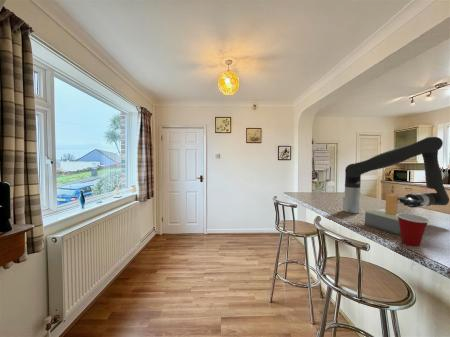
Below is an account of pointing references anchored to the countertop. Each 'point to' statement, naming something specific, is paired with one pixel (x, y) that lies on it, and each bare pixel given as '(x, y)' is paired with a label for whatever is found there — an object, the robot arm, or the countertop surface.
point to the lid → (388, 208)
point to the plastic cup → (412, 228)
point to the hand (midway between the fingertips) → (395, 201)
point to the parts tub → (382, 223)
